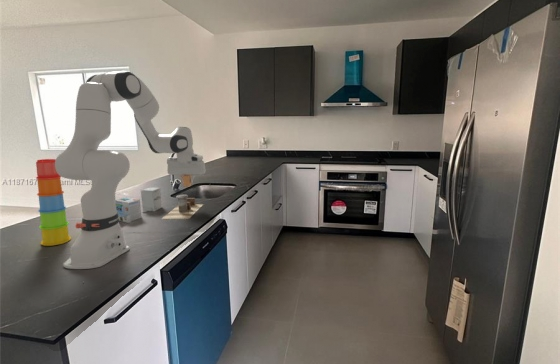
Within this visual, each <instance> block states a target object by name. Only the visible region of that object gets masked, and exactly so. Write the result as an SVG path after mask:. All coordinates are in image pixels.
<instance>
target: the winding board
mask: <svg viewBox="0 0 560 364" xmlns="http://www.w3.org/2000/svg"><path fill="white" fill-rule="evenodd" d="M175 198H176V199H177V204H178V205H177V206H176V207H174V208H173V209H171V210H170V212H168V213H167V214H165V215H164V216H163V217H161V220H189V219H191V217H192V216H193V215H194V214H195V213H197V211H198V210H200V209H201V208H202V207H203V206H205V204H203V203H197V202H196V198H195V197H189V195H188V194H178V195H176V196H175Z"/></svg>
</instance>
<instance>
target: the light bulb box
mask: <svg viewBox="0 0 560 364" xmlns="http://www.w3.org/2000/svg"><path fill="white" fill-rule="evenodd" d="M115 201H116V211H117V213H118V216H119V222H122V223H127V224H130V223H132V222H133V221H135V220H139V219H141V218H142V217H143V216H142V208H141V199H139V198H133V197H127V196H126V197H122V198H119V199H115Z"/></svg>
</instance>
